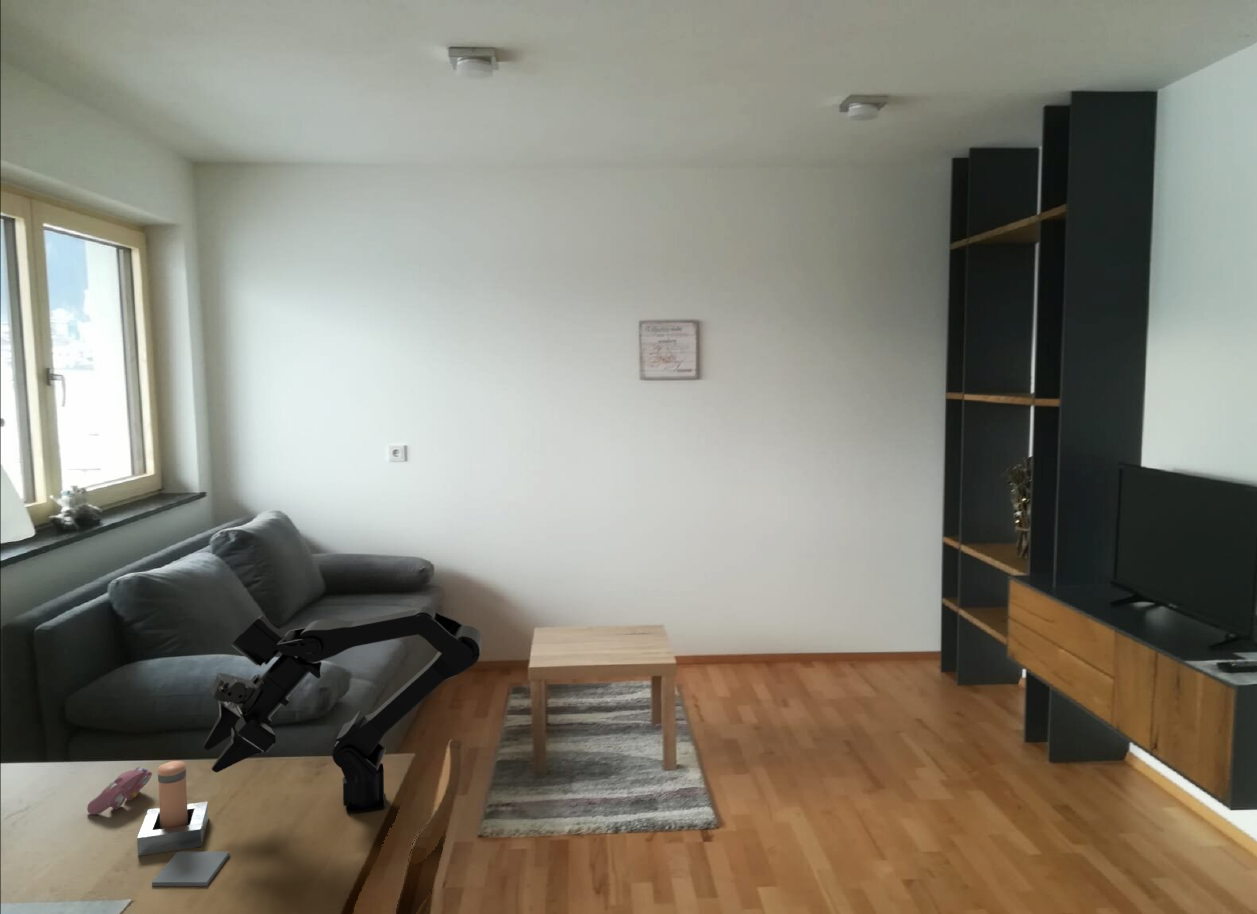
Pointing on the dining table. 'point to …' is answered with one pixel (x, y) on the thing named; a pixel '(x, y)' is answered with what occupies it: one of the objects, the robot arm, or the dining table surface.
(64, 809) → the dining table surface
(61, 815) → the dining table surface
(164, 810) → the pin
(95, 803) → the video game controller
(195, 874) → the mat
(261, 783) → the dining table surface
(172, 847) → the eye block
